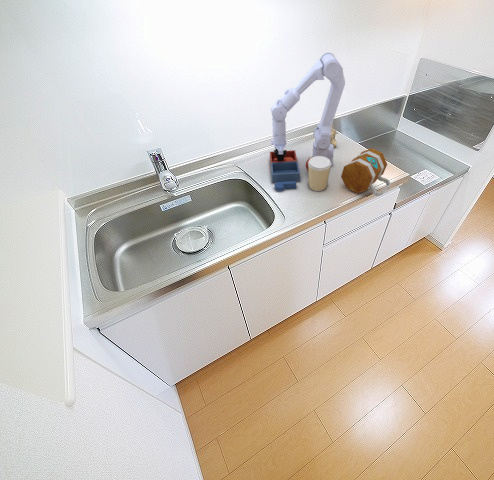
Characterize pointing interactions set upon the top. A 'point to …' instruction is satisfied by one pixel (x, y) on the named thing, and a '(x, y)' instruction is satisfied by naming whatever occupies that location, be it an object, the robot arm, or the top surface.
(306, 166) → the apple
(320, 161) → the coffee cup
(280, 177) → the blue bin
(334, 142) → the robot
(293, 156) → the red bin
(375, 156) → the mug
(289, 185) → the blue spoon
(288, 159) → the terracotta spoon
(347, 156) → the top surface
